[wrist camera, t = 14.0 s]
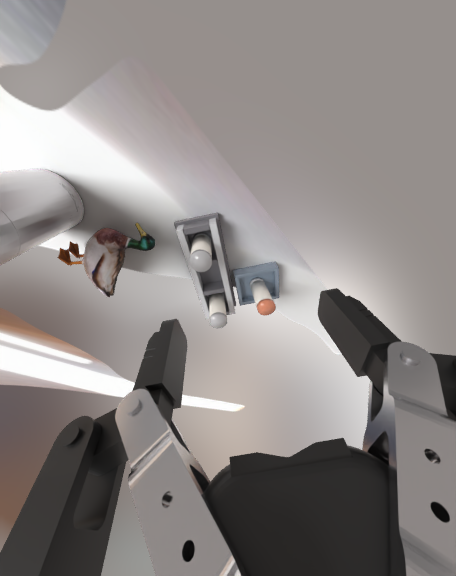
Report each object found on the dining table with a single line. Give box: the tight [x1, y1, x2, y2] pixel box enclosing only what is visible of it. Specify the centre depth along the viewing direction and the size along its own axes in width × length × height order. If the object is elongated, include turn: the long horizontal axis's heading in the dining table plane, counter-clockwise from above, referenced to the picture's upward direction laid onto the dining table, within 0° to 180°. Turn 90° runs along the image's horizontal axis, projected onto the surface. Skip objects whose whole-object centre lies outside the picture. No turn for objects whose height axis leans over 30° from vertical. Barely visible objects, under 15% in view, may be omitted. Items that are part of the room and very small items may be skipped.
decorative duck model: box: [58, 223, 155, 297], centre depth 36 cm, size 15×8×15 cm
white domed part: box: [189, 233, 212, 272], centre depth 34 cm, size 4×4×9 cm
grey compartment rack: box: [174, 213, 236, 319], centre depth 41 cm, size 8×23×4 cm, turn 10°
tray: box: [233, 262, 279, 305], centre depth 45 cm, size 10×9×3 cm
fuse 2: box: [209, 292, 227, 328], centre depth 42 cm, size 4×4×9 cm
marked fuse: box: [249, 277, 276, 315], centre depth 42 cm, size 4×4×9 cm
